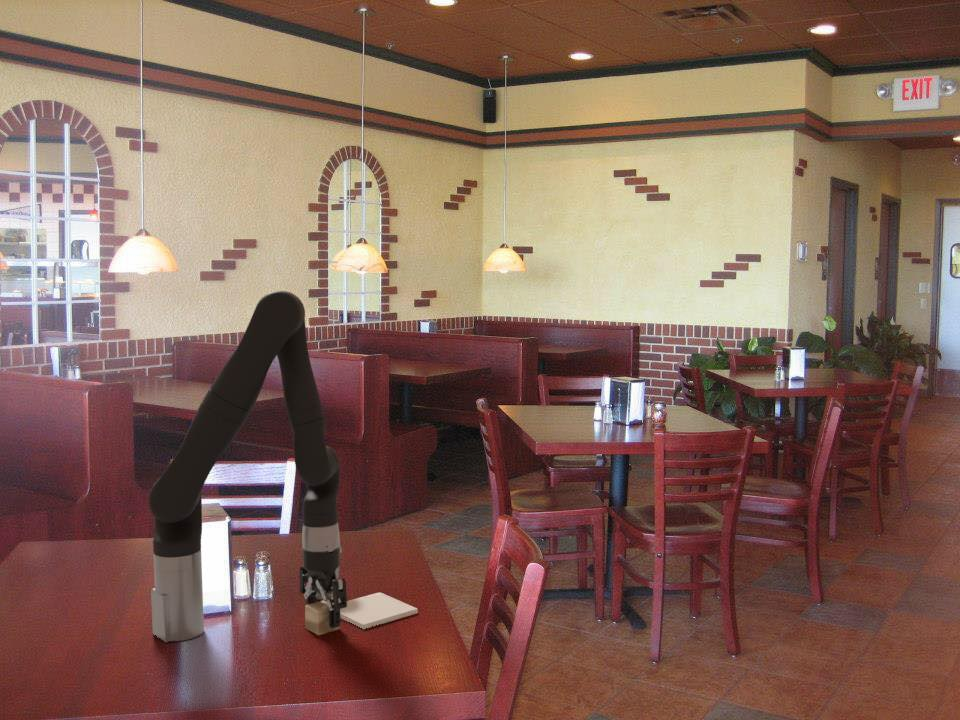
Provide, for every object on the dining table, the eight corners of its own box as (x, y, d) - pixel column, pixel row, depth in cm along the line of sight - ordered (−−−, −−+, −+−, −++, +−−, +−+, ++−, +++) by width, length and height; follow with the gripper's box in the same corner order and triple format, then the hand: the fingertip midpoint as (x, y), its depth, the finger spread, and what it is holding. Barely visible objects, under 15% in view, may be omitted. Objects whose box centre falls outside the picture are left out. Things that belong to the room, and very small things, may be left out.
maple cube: (318, 635, 199) (317, 611, 199) (305, 628, 203) (304, 605, 202) (339, 629, 202) (338, 606, 202) (326, 622, 206) (325, 599, 206)
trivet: (363, 629, 202) (363, 624, 202) (326, 611, 212) (326, 606, 212) (417, 613, 211) (417, 608, 211) (379, 596, 222) (379, 592, 222)
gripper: (287, 541, 204) (289, 616, 205) (324, 556, 193) (326, 636, 195) (318, 534, 209) (320, 608, 210) (356, 548, 198) (358, 626, 200)
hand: (323, 621), depth 203 cm, fingers open, 8 cm apart
